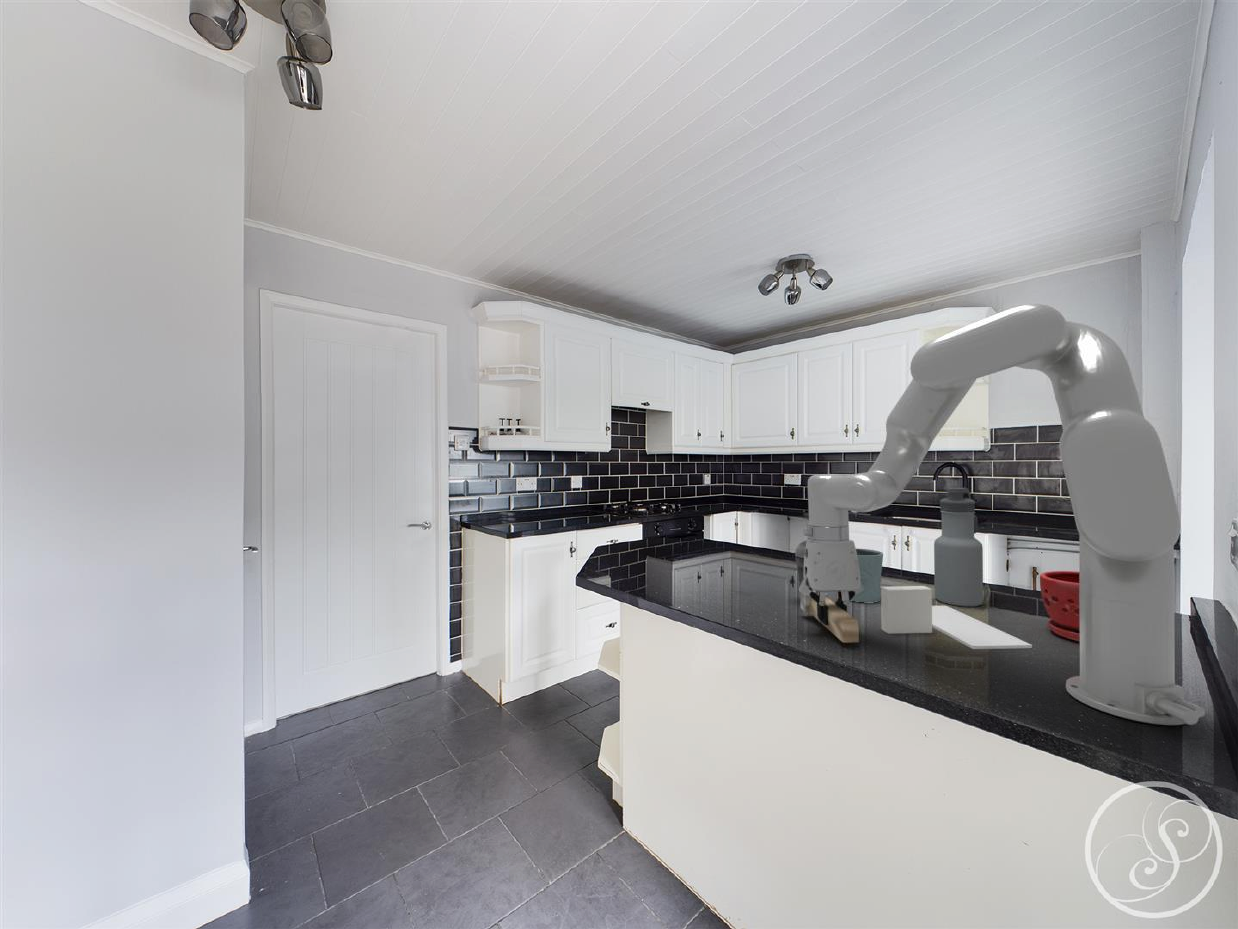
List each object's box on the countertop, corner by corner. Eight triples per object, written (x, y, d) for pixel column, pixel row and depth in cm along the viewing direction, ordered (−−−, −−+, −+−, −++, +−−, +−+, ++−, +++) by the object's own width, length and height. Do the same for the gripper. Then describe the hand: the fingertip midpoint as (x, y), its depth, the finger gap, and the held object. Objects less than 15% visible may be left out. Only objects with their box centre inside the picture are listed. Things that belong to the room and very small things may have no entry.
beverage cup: (831, 602, 121) (830, 522, 120) (820, 609, 115) (818, 525, 115) (802, 596, 126) (801, 520, 125) (790, 603, 120) (789, 523, 120)
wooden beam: (864, 641, 92) (863, 621, 92) (837, 642, 92) (837, 622, 92) (822, 607, 111) (822, 590, 111) (800, 608, 111) (800, 591, 111)
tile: (932, 632, 99) (931, 589, 99) (888, 633, 99) (887, 590, 99) (924, 628, 102) (923, 585, 101) (881, 629, 102) (880, 586, 102)
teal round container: (845, 603, 119) (845, 555, 119) (834, 592, 129) (833, 547, 129) (890, 605, 118) (889, 555, 117) (875, 593, 127) (874, 547, 127)
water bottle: (941, 593, 126) (940, 486, 126) (987, 600, 119) (986, 487, 119) (929, 601, 119) (928, 488, 119) (977, 610, 112) (976, 489, 112)
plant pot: (1102, 628, 100) (1101, 570, 100) (1152, 653, 87) (1152, 586, 87) (1026, 623, 103) (1026, 567, 103) (1064, 647, 91) (1064, 583, 90)
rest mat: (1032, 648, 90) (1032, 645, 90) (973, 649, 90) (973, 646, 90) (945, 608, 114) (945, 605, 114) (899, 609, 114) (899, 606, 114)
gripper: (796, 538, 96) (799, 630, 96) (878, 535, 96) (881, 627, 96) (783, 532, 104) (786, 618, 104) (859, 530, 104) (862, 616, 104)
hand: (832, 622), depth 100 cm, fingers closed on wooden beam, 2 cm apart
